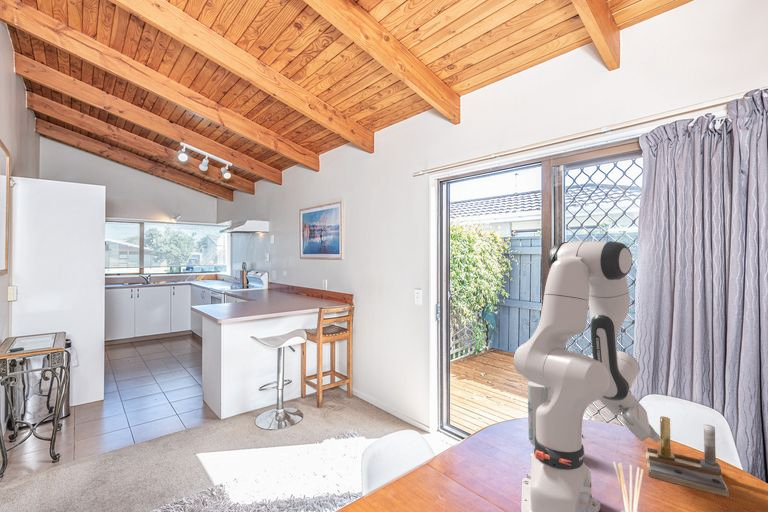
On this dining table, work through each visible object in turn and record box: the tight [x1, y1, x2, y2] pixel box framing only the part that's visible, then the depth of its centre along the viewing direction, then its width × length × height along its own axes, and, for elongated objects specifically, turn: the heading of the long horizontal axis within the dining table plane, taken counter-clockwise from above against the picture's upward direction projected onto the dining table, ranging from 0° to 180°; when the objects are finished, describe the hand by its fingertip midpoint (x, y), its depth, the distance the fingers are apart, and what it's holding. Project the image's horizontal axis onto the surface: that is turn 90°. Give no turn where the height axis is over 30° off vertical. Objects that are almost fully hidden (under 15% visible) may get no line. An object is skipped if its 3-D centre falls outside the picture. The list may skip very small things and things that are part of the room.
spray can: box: [527, 380, 549, 446], centre depth 124 cm, size 6×6×20 cm
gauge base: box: [645, 424, 730, 498], centre depth 105 cm, size 14×17×14 cm
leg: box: [656, 416, 675, 461], centre depth 110 cm, size 4×4×12 cm
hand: (657, 439), depth 111 cm, fingers closed, pressing on leg
